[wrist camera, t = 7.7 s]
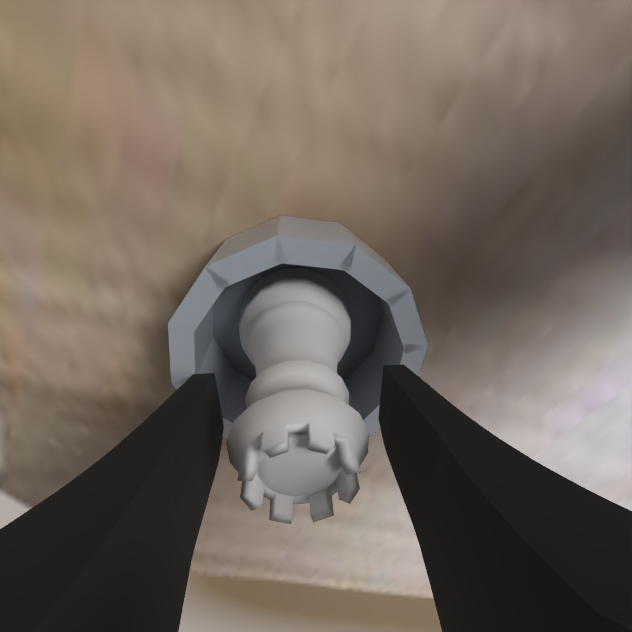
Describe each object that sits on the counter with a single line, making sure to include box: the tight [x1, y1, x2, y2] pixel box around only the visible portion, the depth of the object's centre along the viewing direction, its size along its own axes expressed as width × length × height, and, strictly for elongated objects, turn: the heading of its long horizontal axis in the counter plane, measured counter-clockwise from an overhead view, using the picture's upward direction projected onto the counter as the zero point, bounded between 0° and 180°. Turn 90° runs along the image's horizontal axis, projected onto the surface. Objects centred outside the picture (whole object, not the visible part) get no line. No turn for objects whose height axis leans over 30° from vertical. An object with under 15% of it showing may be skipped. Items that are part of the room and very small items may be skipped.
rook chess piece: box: [226, 268, 369, 524], centre depth 10 cm, size 4×4×8 cm
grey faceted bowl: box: [168, 215, 428, 439], centre depth 13 cm, size 9×9×4 cm
